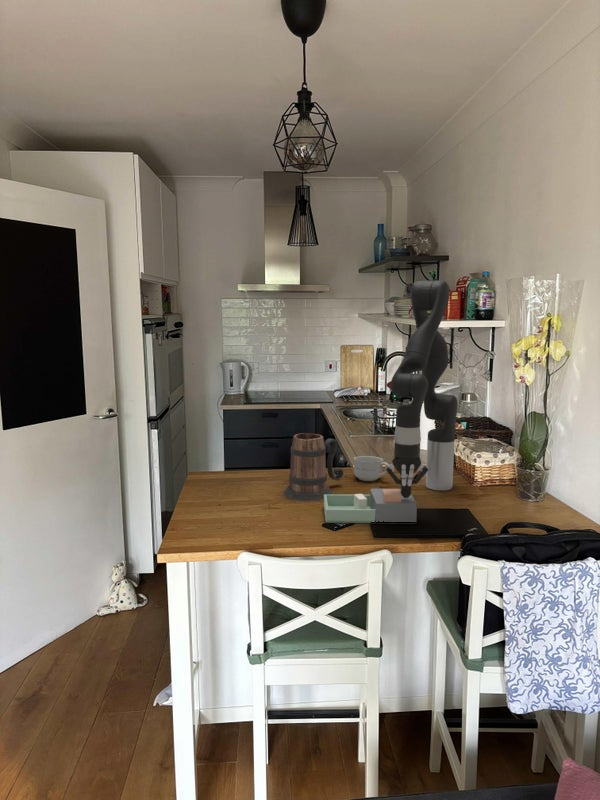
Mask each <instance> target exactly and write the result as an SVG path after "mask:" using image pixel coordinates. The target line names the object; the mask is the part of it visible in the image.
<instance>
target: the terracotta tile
mask: <svg viewBox="0 0 600 800" xmlns="http://www.w3.org/2000/svg"><path fill="white" fill-rule="evenodd" d="M381 489H382V497H383V500H384V502H400V503H401V492H400V490H399V489H400V488H381Z"/></svg>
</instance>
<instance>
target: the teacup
mask: <svg viewBox="0 0 600 800" xmlns="http://www.w3.org/2000/svg"><path fill="white" fill-rule="evenodd" d="M389 465H390V464H389V463H388V462H387V461H384V459H383V458H381V457H379V456H374V455H373V456H371V455H361V456H355V457H353V473H354V475H355V477H357V478H358V479H359V480H360V481H364V482H374V481H375V482H376V481H377V480H379V478H381V477H383V475H385V474H387V473H388V472H387V471H386V469H385V470H384V471H383V467H384V466H385V467H386V466H389Z"/></svg>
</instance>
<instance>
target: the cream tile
mask: <svg viewBox="0 0 600 800" xmlns="http://www.w3.org/2000/svg"><path fill="white" fill-rule="evenodd" d="M353 495H354V509H367V498H366V497H365V496H364V495H365V494H363V493H354V494H353Z"/></svg>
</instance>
